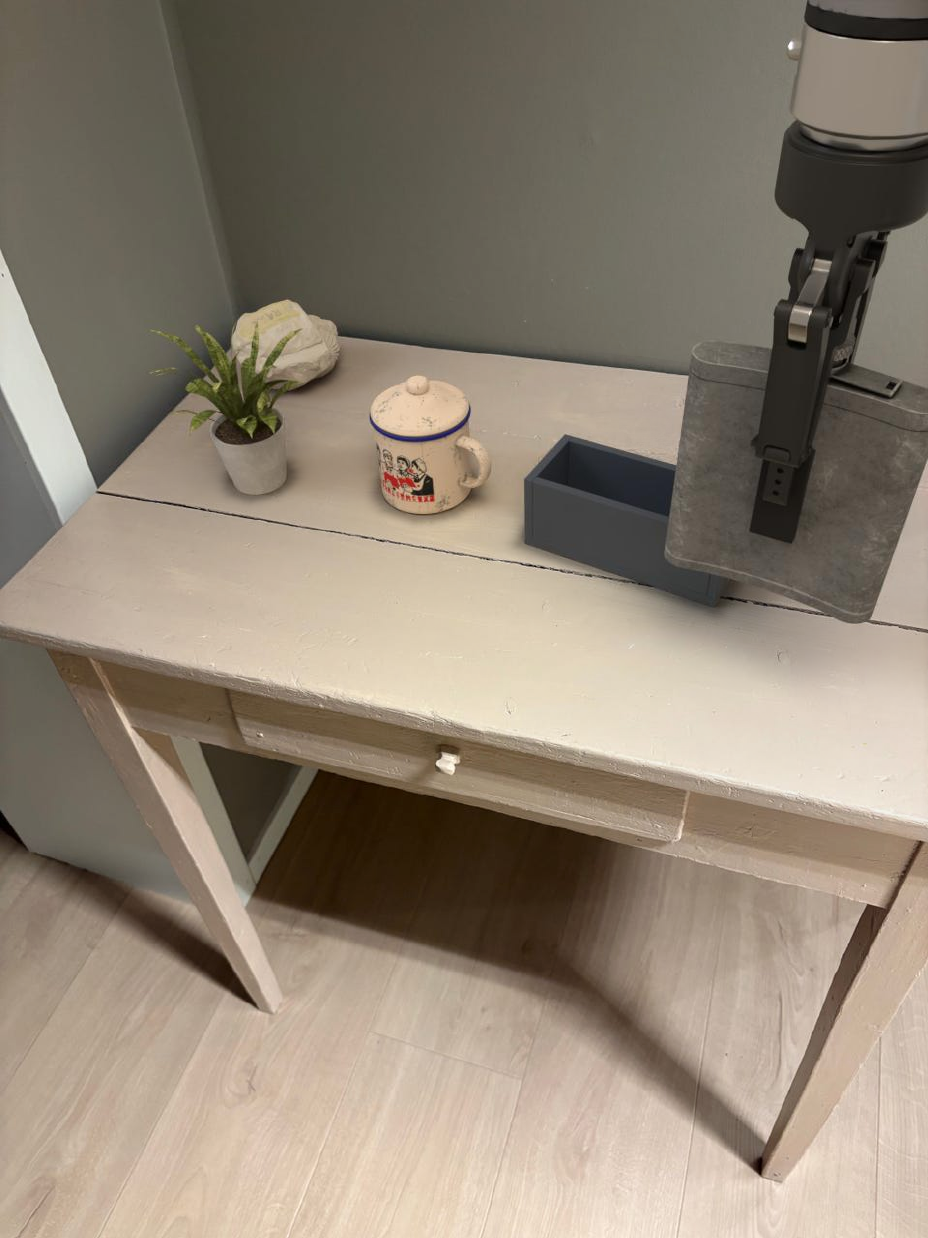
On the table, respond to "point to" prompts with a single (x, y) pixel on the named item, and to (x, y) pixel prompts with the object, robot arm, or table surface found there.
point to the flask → (836, 491)
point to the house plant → (242, 414)
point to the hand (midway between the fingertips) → (782, 515)
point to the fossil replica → (301, 354)
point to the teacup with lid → (425, 446)
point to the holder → (610, 515)
